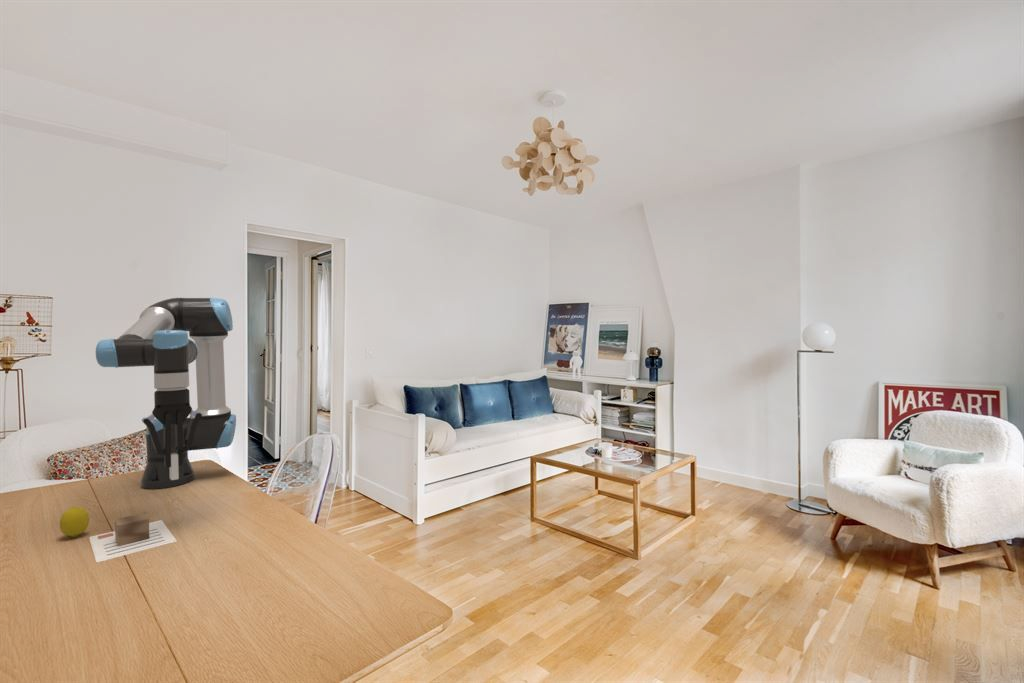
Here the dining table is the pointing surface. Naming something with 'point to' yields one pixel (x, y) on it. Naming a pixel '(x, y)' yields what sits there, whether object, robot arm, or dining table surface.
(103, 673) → the dining table surface
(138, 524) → the walnut block
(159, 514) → the dining table surface
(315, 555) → the dining table surface
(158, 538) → the letter
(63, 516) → the lemon
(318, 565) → the dining table surface
